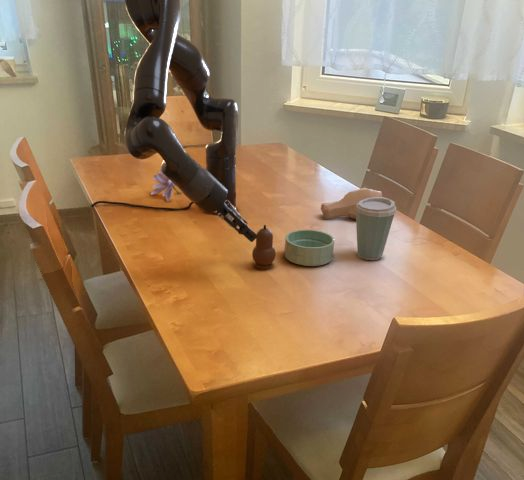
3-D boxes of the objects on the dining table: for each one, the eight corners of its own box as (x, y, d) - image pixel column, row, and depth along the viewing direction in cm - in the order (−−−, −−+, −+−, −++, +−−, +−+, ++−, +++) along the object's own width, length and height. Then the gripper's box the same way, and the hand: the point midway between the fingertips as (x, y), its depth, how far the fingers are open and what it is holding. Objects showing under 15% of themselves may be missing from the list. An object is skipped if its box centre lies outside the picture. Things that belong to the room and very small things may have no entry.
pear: (250, 270, 138) (251, 228, 132) (253, 260, 144) (254, 220, 137) (274, 271, 138) (276, 230, 132) (275, 262, 143) (277, 221, 137)
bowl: (283, 266, 141) (284, 246, 138) (285, 247, 152) (286, 228, 149) (332, 269, 140) (334, 249, 137) (331, 249, 151) (333, 231, 148)
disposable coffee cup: (364, 266, 142) (372, 210, 134) (341, 251, 150) (347, 197, 142) (396, 259, 147) (406, 205, 138) (372, 245, 155) (380, 193, 146)
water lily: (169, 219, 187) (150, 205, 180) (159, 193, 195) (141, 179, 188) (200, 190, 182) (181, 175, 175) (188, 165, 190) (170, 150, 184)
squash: (388, 222, 172) (390, 196, 165) (326, 232, 170) (326, 206, 164) (377, 205, 179) (379, 180, 173) (318, 214, 178) (318, 189, 172)
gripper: (186, 191, 132) (232, 233, 141) (198, 211, 120) (247, 254, 130) (207, 168, 130) (252, 211, 139) (221, 185, 119) (269, 231, 128)
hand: (249, 232), depth 135 cm, fingers open, 8 cm apart
